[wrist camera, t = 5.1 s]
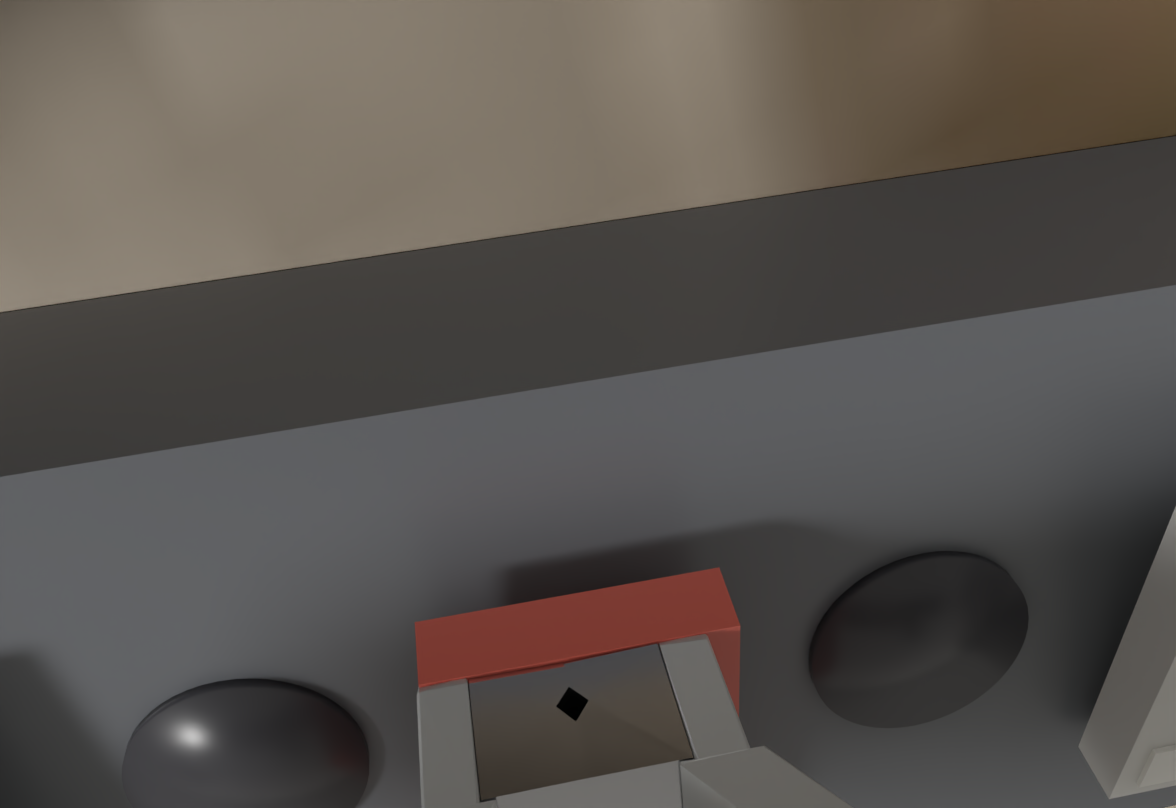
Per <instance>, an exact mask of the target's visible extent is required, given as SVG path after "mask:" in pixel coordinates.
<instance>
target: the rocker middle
mask: <svg viewBox="0 0 1176 808" xmlns="http://www.w3.org/2000/svg"><path fill="white" fill-rule="evenodd" d="M701 634H706V635H707V636H708V638H709V641H710V643H711V646H712V649H713V651H714V654H715V656H716V659H717V662H718V664H719V667H720V670H721V672H722V675H723V677H724V680H725V683H726V685H727V688H728V691H729V693H730V696H731V698H732V701H733V704H734V706H735V709H736V712H737V714H738V717H739V679H740V623H739V620H738V617H737V615H736V612H735V609H734V606H733V604H732V601H731V598H730V595H729V593H728V590H727V587H726V584H725V582H724V579H723V576H722V573H721V571H720V568H719V567H718V568H713V569H707V570H702V571H696V572H691V573H685V574H680V575H674V576H669V577H663V578H657V579H652V580H646V581H641V582H635V583H630V584H624V585H619V586H613V587H607V588H602V589H596V590H591V591H585V592H580V593H574V594H569V595H563V596H557V597H552V598H546V599H541V600H535V601H530V602H524V603H519V604H513V605H507V606H502V607H496V608H491V609H485V610H480V611H474V612H469V613H463V614H457V615H452V616H446V617H441V618H435V619H430V620H424V621H419V622H415V636H416V653H417V670H418V685H419V688H421V687H425V686H430V685H435V684H439V683H444V682H448V681H453V680H459V679H465V678H466V679H467V680H468V684H469V679H470V678H476V677H482V676H487V675H493V674H499V673H504V672H510V671H516V670H522V669H527V668H533V667H539V666H544V665H550V664H556V663H561V662H567V661H572V660H577V659H581V658H586V657H591V656H596V655H600V654H605V653H610V652H615V651H619V650H624V649H629V648H634V647H638V646H643V645H649V644H654V643H657V644H658V643H662V642H666V641H670V640H675V639H679V638H685V637H690V636H695V635H701ZM658 647H659V646H658Z"/></svg>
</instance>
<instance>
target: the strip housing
mask: <svg viewBox="0 0 1176 808" xmlns="http://www.w3.org/2000/svg"><path fill="white" fill-rule="evenodd" d="M1175 507H1176V136H1173V137H1166V138H1159V139H1153V140H1146V141H1139V142H1133V143H1126V144H1119V145H1113V146H1106V147H1100V148H1093V149H1086V150H1080V151H1073V152H1066V153H1060V154H1053V155H1047V156H1040V157H1033V158H1027V159H1020V160H1013V161H1007V162H1000V163H993V164H987V165H980V166H974V167H967V168H960V169H954V170H947V171H940V172H934V173H927V174H921V175H914V176H907V177H901V178H894V179H887V180H881V181H874V182H868V183H861V184H854V185H848V186H841V187H834V188H828V189H821V190H814V191H808V192H801V193H795V194H788V195H781V196H775V197H768V198H761V199H755V200H748V201H742V202H735V203H728V204H722V205H715V206H708V207H702V208H695V209H688V210H682V211H675V212H669V213H662V214H655V215H649V216H642V217H635V218H629V219H622V220H616V221H609V222H602V223H596V224H589V225H582V226H576V227H569V228H562V229H556V230H549V231H543V232H536V233H529V234H523V235H516V236H509V237H503V238H496V239H490V240H483V241H476V242H470V243H463V244H456V245H450V246H443V247H437V248H430V249H423V250H417V251H410V252H403V253H397V254H390V255H383V256H377V257H370V258H364V259H357V260H350V261H344V262H337V263H330V264H324V265H317V266H311V267H304V268H297V269H291V270H284V271H277V272H271V273H264V274H257V275H251V276H244V277H238V278H231V279H224V280H218V281H211V282H204V283H198V284H191V285H185V286H178V287H171V288H165V289H158V290H151V291H145V292H138V293H131V294H125V295H118V296H112V297H105V298H98V299H92V300H85V301H78V302H72V303H65V304H59V305H52V306H45V307H39V308H32V309H25V310H19V311H12V312H5V313H0V808H421V785H420V761H419V738H418V715H417V692H418V687H419V685H418V670H417V653H416V636H415V622H419V621H424V620H430V619H435V618H441V617H446V616H452V615H457V614H463V613H469V612H474V611H480V610H485V609H491V608H496V607H502V606H507V605H513V604H519V603H524V602H530V601H535V600H541V599H546V598H552V597H557V596H563V595H569V594H574V593H580V592H585V591H591V590H596V589H602V588H607V587H613V586H619V585H624V584H630V583H635V582H641V581H646V580H652V579H657V578H663V577H669V576H674V575H680V574H685V573H691V572H696V571H702V570H707V569H713V568H718V567H719V568H720V571H721V573H722V576H723V579H724V582H725V584H726V587H727V590H728V593H729V595H730V598H731V601H732V604H733V606H734V609H735V612H736V615H737V617H738V620H739V623H740V679H739V719H740V722H741V725H742V727H743V730H744V733H745V735H746V738H747V741H748V743H749V746H750V748H754V747H760V746H766V747H767V748H769V749H770V750H771V751H773V752H774V753H776V754H777V755H779V756H780V757H781V758H783V759H784V760H786V761H787V762H789V763H790V764H792V765H793V766H794V767H796V768H797V769H799V770H800V771H802V772H803V773H804V774H806V775H807V776H809V777H810V778H812V779H813V780H814V781H816V782H817V783H819V784H820V785H822V786H823V787H824V788H826V789H827V790H829V791H830V792H832V793H833V794H834V795H836V796H837V797H839V798H840V799H842V800H843V801H844V802H846V803H847V804H849V805H850V806H852V807H853V808H1164V807H1169V806H1173V805H1176V786H1171V787H1166V788H1161V789H1156V790H1151V791H1146V792H1142V793H1137V794H1132V795H1127V796H1122V797H1117V798H1112V799H1109V798H1108V797H1107V795H1106V793H1105V792H1104V790H1103V788H1102V786H1101V785H1100V783H1099V781H1098V780H1097V778H1096V776H1095V774H1094V773H1093V771H1092V769H1091V768H1090V766H1089V764H1088V762H1087V761H1086V759H1085V757H1084V756H1083V754H1082V752H1081V750H1080V749H1079V747H1078V746H1079V743H1080V741H1081V738H1082V736H1083V733H1084V731H1085V729H1086V726H1087V724H1088V721H1089V719H1090V716H1091V714H1092V711H1093V709H1094V706H1095V704H1096V701H1097V699H1098V696H1099V694H1100V692H1101V689H1102V687H1103V684H1104V682H1105V679H1106V677H1107V674H1108V672H1109V669H1110V667H1111V664H1112V662H1113V660H1114V657H1115V655H1116V652H1117V650H1118V647H1119V645H1120V642H1121V640H1122V637H1123V635H1124V632H1125V630H1126V627H1127V625H1128V623H1129V620H1130V618H1131V615H1132V613H1133V610H1134V608H1135V605H1136V603H1137V600H1138V598H1139V595H1140V593H1141V591H1142V588H1143V586H1144V583H1145V581H1146V578H1147V576H1148V573H1149V571H1150V568H1151V566H1152V563H1153V561H1154V558H1155V556H1156V554H1157V551H1158V549H1159V546H1160V544H1161V541H1162V539H1163V536H1164V534H1165V531H1166V529H1167V526H1168V524H1169V522H1170V519H1171V517H1172V514H1173V512H1174V509H1175Z"/></svg>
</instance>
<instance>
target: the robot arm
mask: <svg viewBox="0 0 1176 808" xmlns="http://www.w3.org/2000/svg"><path fill="white" fill-rule="evenodd" d="M658 646H659V647H658ZM417 715H418V738H419V761H420V785H421V808H853V807H852V806H850V805H849V804H847V803H846V802H844V801H843V800H842V799H840V798H839V797H837V796H836V795H834V794H833V793H832V792H830V791H829V790H827V789H826V788H824V787H823V786H822V785H820V784H819V783H817V782H816V781H814V780H813V779H812V778H810V777H809V776H807V775H806V774H804V773H803V772H802V771H800V770H799V769H797V768H796V767H794V766H793V765H792V764H790V763H789V762H787V761H786V760H784V759H783V758H781V757H780V756H779V755H777V754H776V753H774V752H773V751H771V750H770V749H769V748H767V747H766V746H760V747H754V748H750V746H749V743H748V741H747V738H746V735H745V733H744V730H743V727H742V725H741V722H740V719H739V717H738V714H737V712H736V709H735V706H734V704H733V701H732V698H731V696H730V693H729V691H728V688H727V685H726V683H725V680H724V677H723V675H722V672H721V670H720V667H719V664H718V662H717V659H716V656H715V654H714V651H713V649H712V646H711V643H710V641H709V638H708V636H707V635H706V634H701V635H695V636H690V637H685V638H679V639H675V640H670V641H666V642H662V643H658V644H657V643H654V644H649V645H643V646H638V647H634V648H629V649H624V650H619V651H615V652H610V653H605V654H600V655H596V656H591V657H586V658H581V659H577V660H572V661H567V662H561V663H556V664H550V665H544V666H539V667H533V668H527V669H522V670H516V671H510V672H504V673H499V674H493V675H487V676H482V677H476V678H470V679H469V684H468V680H467V679H466V678H465V679H459V680H453V681H448V682H444V683H439V684H435V685H430V686H425V687H421V688H419V687H418V692H417Z"/></svg>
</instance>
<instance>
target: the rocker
mask: <svg viewBox="0 0 1176 808" xmlns="http://www.w3.org/2000/svg"><path fill="white" fill-rule="evenodd" d="M1078 747H1079V749H1080V750H1081V752H1082V754H1083V756H1084V757H1085V759H1086V761H1087V762H1088V764H1089V766H1090V768H1091V769H1092V771H1093V773H1094V774H1095V776H1096V778H1097V780H1098V781H1099V783H1100V785H1101V786H1102V788H1103V790H1104V792H1105V793H1106V795H1107V797H1108V798H1109V799H1112V798H1117V797H1122V796H1127V795H1132V794H1137V793H1142V792H1146V791H1151V790H1156V789H1161V788H1166V787H1171V786H1176V507H1175V509H1174V512H1173V514H1172V517H1171V519H1170V522H1169V524H1168V526H1167V529H1166V531H1165V534H1164V536H1163V539H1162V541H1161V544H1160V546H1159V549H1158V551H1157V554H1156V556H1155V558H1154V561H1153V563H1152V566H1151V568H1150V571H1149V573H1148V576H1147V578H1146V581H1145V583H1144V586H1143V588H1142V591H1141V593H1140V595H1139V598H1138V600H1137V603H1136V605H1135V608H1134V610H1133V613H1132V615H1131V618H1130V620H1129V623H1128V625H1127V627H1126V630H1125V632H1124V635H1123V637H1122V640H1121V642H1120V645H1119V647H1118V650H1117V652H1116V655H1115V657H1114V660H1113V662H1112V664H1111V667H1110V669H1109V672H1108V674H1107V677H1106V679H1105V682H1104V684H1103V687H1102V689H1101V692H1100V694H1099V696H1098V699H1097V701H1096V704H1095V706H1094V709H1093V711H1092V714H1091V716H1090V719H1089V721H1088V724H1087V726H1086V729H1085V731H1084V733H1083V736H1082V738H1081V741H1080V743H1079V746H1078Z"/></svg>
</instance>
